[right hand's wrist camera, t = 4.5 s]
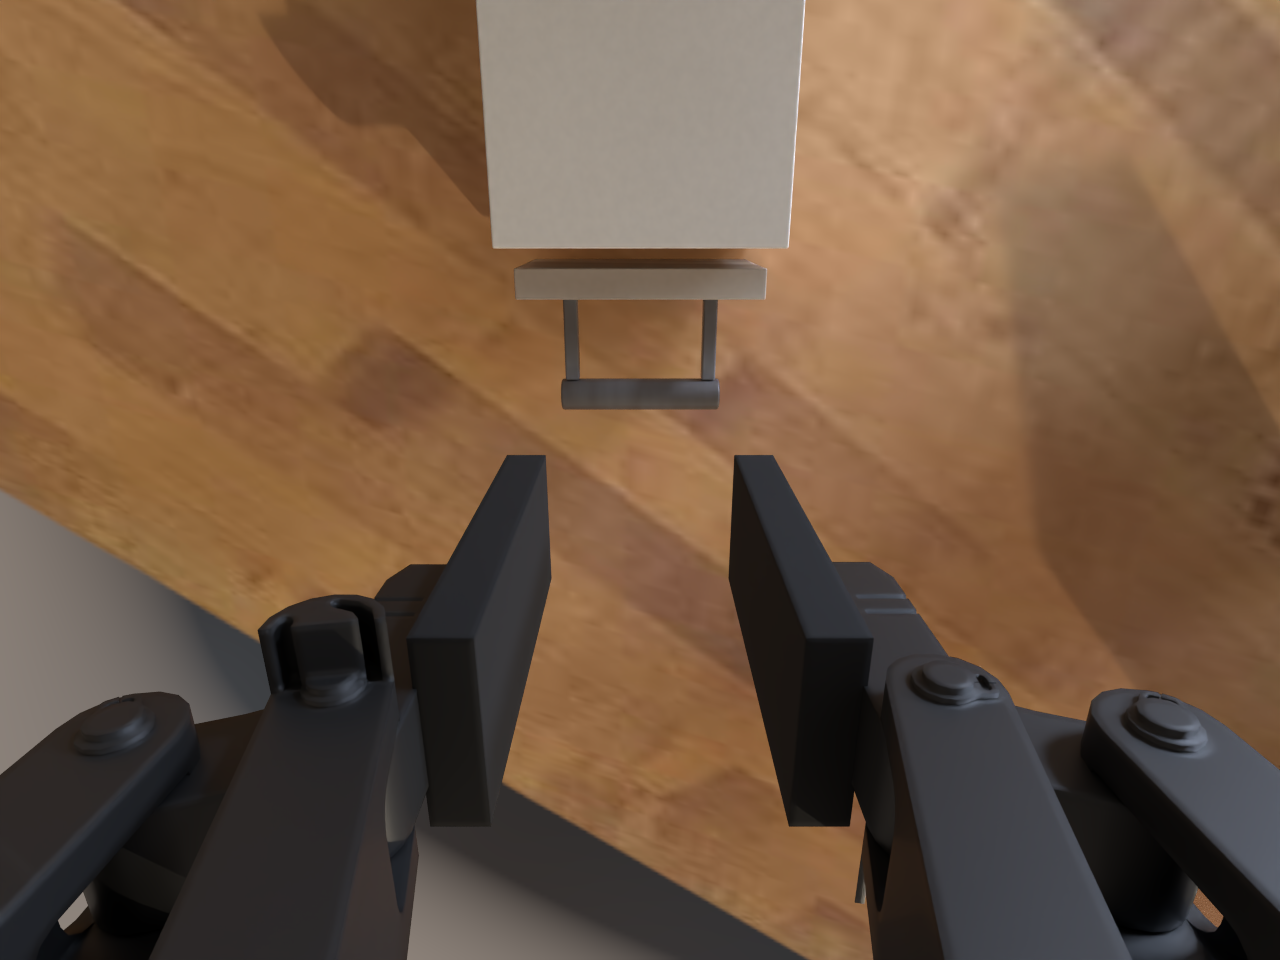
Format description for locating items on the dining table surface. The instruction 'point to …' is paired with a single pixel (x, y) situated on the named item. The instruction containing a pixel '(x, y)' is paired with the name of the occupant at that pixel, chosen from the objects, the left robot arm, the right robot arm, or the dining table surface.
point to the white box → (640, 121)
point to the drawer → (640, 283)
